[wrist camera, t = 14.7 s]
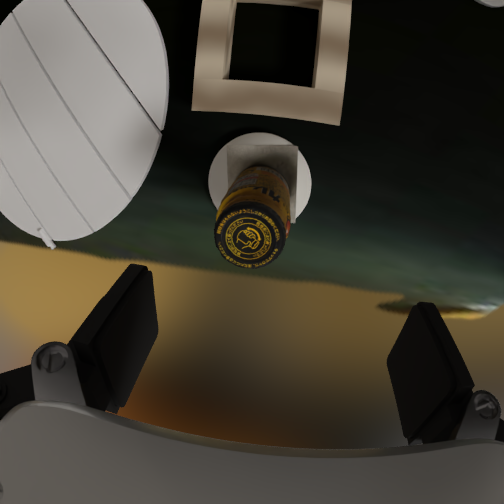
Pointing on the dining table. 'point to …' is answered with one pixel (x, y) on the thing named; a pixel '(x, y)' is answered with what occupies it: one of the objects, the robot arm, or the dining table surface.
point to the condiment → (257, 204)
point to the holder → (263, 93)
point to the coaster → (219, 164)
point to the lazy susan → (78, 112)
